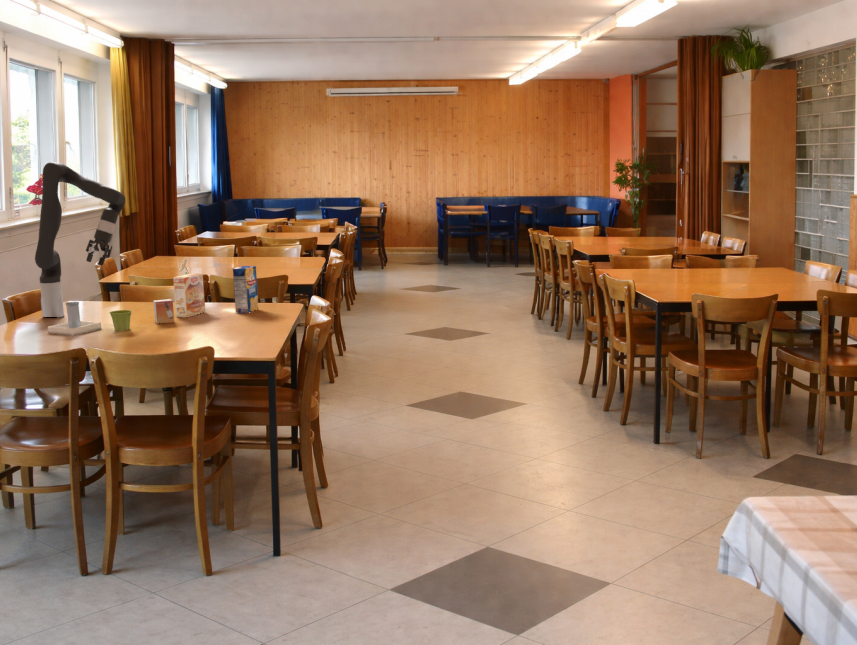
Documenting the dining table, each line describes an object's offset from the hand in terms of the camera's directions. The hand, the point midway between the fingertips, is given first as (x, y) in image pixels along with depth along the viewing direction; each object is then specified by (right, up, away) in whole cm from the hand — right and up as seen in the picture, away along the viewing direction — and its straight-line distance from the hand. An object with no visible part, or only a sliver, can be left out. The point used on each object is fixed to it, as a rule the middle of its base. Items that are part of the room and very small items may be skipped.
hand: (94, 263), depth 382 cm
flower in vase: (+33, -19, +41) cm, 56 cm away
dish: (+1, -32, -23) cm, 39 cm away
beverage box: (+68, -22, +21) cm, 74 cm away
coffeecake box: (+41, -24, +15) cm, 50 cm away
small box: (+35, -28, -4) cm, 45 cm away
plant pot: (+21, -32, -22) cm, 44 cm away
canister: (+1, -31, -23) cm, 38 cm away
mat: (+1, -32, -23) cm, 39 cm away
